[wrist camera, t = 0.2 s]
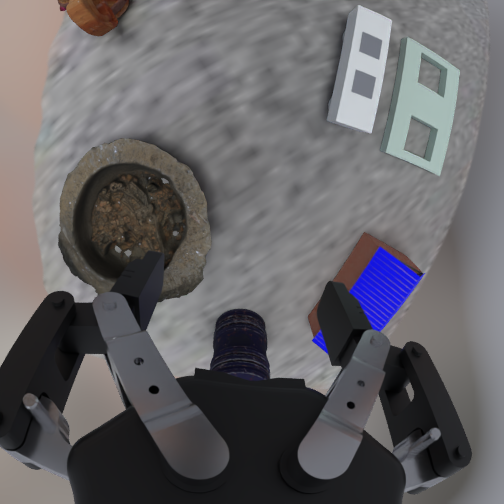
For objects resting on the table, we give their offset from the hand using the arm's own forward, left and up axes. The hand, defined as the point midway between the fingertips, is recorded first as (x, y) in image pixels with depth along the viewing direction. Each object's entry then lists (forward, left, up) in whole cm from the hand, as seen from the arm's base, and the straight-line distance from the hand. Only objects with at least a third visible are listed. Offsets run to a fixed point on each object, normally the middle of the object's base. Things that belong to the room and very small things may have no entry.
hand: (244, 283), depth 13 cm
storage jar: (+29, +5, -29) cm, 41 cm away
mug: (-24, -25, -29) cm, 45 cm away
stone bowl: (+9, -15, -29) cm, 34 cm away
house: (+16, +25, -29) cm, 41 cm away
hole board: (-19, +26, -29) cm, 43 cm away
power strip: (-19, +12, -29) cm, 36 cm away
